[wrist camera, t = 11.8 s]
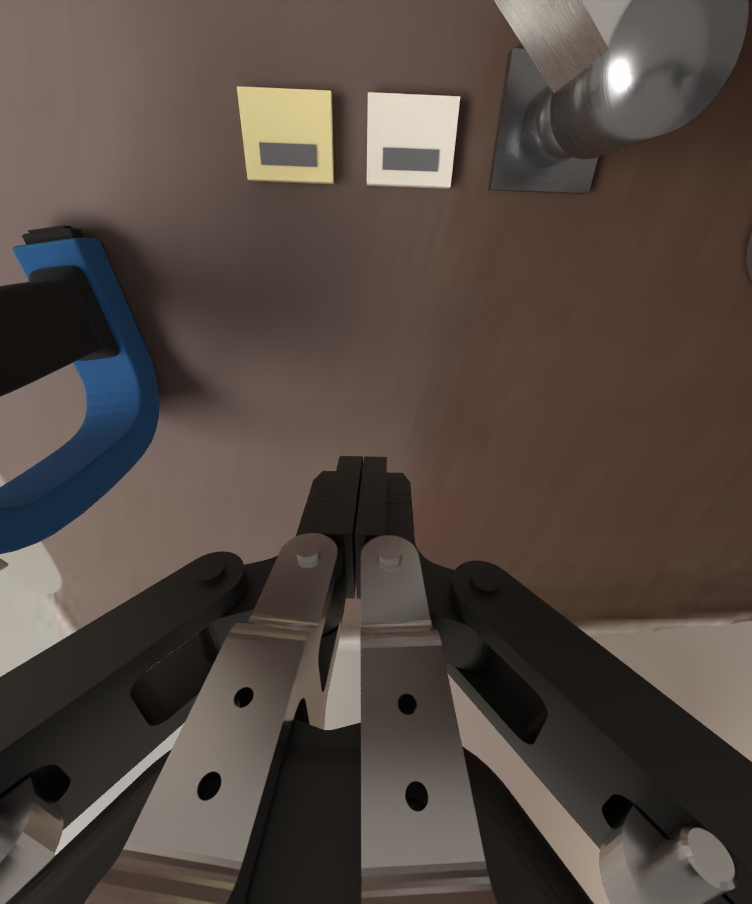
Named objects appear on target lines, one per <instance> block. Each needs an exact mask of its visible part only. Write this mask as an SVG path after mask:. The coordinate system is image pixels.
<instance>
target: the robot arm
mask: <svg viewBox="0 0 752 904" xmlns="http://www.w3.org/2000/svg"><path fill="white" fill-rule="evenodd" d="M747 269H748V272H749V276H750V279H751V281H752V232H751V235H750V238H749V243H748V248H747ZM386 469H387V457H364V463H363V457H361V456H340V457H339V461H338V466H337V470H336V471H322V472H321V473H320V474H319V475H318V476H317V477H316V478H315V479H314V480H313V483H312V486H311V489H310V494H309V496H308V499H307V503H306V505H305V509H304V512H303V515H302V518H301V521H300V524H299V528H298V531H297V534H296V537H294V538H292V539H291V540H289V541H288V542H287V543H286V544H285V545H284V546H283V547H282V549H281V551H280V553H279V555H278V556H276V557H273V558H271V559H268V560H264V561H260V562H255V563H251V564H246V565H244V564H243V562H242V560H241V558H240V557H239V556H237V555H236V554H233V553H230V552H214V553H210V554H206V555H204V556H201V557H200V558H198V559H196V560H194V561H192V562H191V563H189V564H187V565H186V566H184V567H183V568H181V569H179V570H178V571H176V572H174V573H173V574H171V575H169V576H168V577H166V578H164V579H163V580H161V581H159V582H158V583H156V584H154V585H153V586H151V587H149V588H148V589H146V590H144V591H143V592H141V593H139V594H138V595H136V596H134V597H133V598H131V599H129V600H128V601H126V602H124V603H123V604H121V605H119V606H118V607H116V608H114V609H113V610H111V611H109V612H108V613H106V614H104V615H103V616H101V617H99V618H98V619H96V620H94V621H93V622H91V623H89V624H88V625H86V626H84V627H83V628H81V629H79V630H78V631H76V632H74V633H73V634H71V635H69V636H68V637H66V638H64V639H63V640H61V641H59V642H58V643H56V644H55V645H53V646H51V647H50V648H48V649H46V650H45V651H43V652H41V653H40V654H38V655H36V656H35V657H33V658H31V659H30V660H28V661H26V662H25V663H23V664H22V665H20V666H18V667H16V668H15V669H13V670H11V671H10V672H8V673H6V674H5V675H3V676H2V677H0V904H594V903H593V902H592V900H591V899H590V898H589V896H588V895H587V894H586V892H585V891H584V890H583V889H582V887H581V886H580V885H579V883H578V882H577V880H576V879H575V878H574V876H573V875H572V874H571V872H570V871H569V870H568V868H567V867H566V866H565V864H564V863H563V862H562V860H561V859H560V858H559V856H558V855H557V854H556V853H555V851H554V850H553V848H552V847H551V846H550V844H549V843H548V842H547V840H546V839H545V838H544V836H543V835H542V834H541V832H540V831H539V830H538V828H537V827H536V826H535V824H534V823H533V822H532V820H531V819H530V818H529V816H528V815H527V814H526V812H525V811H524V810H523V808H522V807H521V806H520V804H519V803H518V802H517V800H516V799H515V798H514V796H513V795H512V794H511V792H510V791H509V790H508V788H507V787H506V786H505V785H504V783H503V782H502V781H501V780H500V779H499V778H498V777H497V775H496V774H495V773H494V772H493V771H492V770H491V769H490V768H489V767H488V766H487V765H486V764H485V763H484V762H482V761H481V760H480V759H479V758H478V757H477V756H475V755H474V754H472V753H471V752H470V751H468V750H467V749H465V748H464V747H462V743H461V738H460V733H459V728H458V723H457V718H456V713H455V708H454V703H453V698H452V693H451V688H450V684H449V678H448V674H449V675H450V676H451V678H452V679H453V680H454V681H455V682H456V683H457V685H458V686H459V687H460V688H461V689H462V690H463V691H464V692H465V694H466V695H467V696H468V697H469V698H470V700H471V701H472V702H473V703H474V704H475V705H476V706H477V707H478V709H479V710H480V711H481V712H482V713H483V715H484V716H485V717H486V718H487V719H488V720H489V721H490V723H491V724H492V725H493V726H494V727H495V728H496V730H497V731H498V732H499V733H500V734H501V735H502V736H503V738H504V739H505V740H506V741H507V742H508V743H509V745H510V746H511V747H512V748H513V749H514V750H515V752H516V753H517V754H518V755H519V756H520V757H521V758H522V760H523V761H524V762H525V763H526V764H527V765H528V767H529V768H530V769H531V770H532V771H533V772H534V774H535V775H536V776H537V777H538V778H539V779H540V780H541V782H542V783H543V784H544V785H545V786H546V787H547V789H548V790H549V791H550V792H551V793H552V794H553V795H554V797H555V798H556V799H557V800H558V801H559V802H560V804H561V805H562V806H563V807H564V808H565V809H566V810H567V812H568V813H569V814H570V815H571V816H572V817H573V818H574V820H575V821H576V822H577V823H578V824H579V826H581V828H582V829H583V830H584V831H585V832H586V833H587V835H588V836H589V837H590V838H591V839H592V841H593V842H594V843H595V844H596V845H597V846H598V847H599V849H600V853H599V865H600V874H601V878H602V883H603V886H604V889H605V892H606V895H607V897H608V900H609V902H610V904H752V762H751V761H750V760H748V759H747V758H746V757H744V756H743V755H742V754H741V753H739V752H738V751H737V750H735V749H734V748H733V747H732V746H730V745H729V744H728V743H726V742H725V741H724V740H722V739H721V738H720V737H719V736H717V735H716V734H714V733H713V732H712V731H711V730H710V729H708V728H707V727H706V726H704V725H703V724H702V723H701V722H699V721H698V720H696V719H695V718H694V717H693V716H692V715H690V714H689V713H687V712H686V711H685V710H684V709H682V708H681V707H680V706H679V705H677V704H676V703H675V702H673V701H672V700H671V699H670V698H668V697H667V696H666V695H664V694H663V693H662V692H661V691H659V690H658V689H657V688H655V687H654V686H653V685H651V684H650V683H649V682H648V681H646V680H645V679H644V678H642V677H641V676H640V675H638V674H637V673H636V672H635V671H633V670H632V669H631V668H630V667H628V666H627V665H626V664H624V663H623V662H622V661H620V660H619V659H618V658H617V657H615V656H614V655H613V654H611V653H610V652H609V651H608V650H606V649H605V648H604V647H602V646H601V645H600V644H598V643H597V642H596V641H595V640H593V639H592V638H591V637H589V636H588V635H587V634H586V633H584V632H583V631H582V630H580V629H579V628H578V627H577V626H575V625H574V624H573V623H571V622H570V621H569V620H568V619H566V618H565V617H564V616H562V615H561V614H560V613H558V612H557V611H556V610H555V609H553V608H552V607H551V606H549V605H548V604H547V603H546V602H544V601H543V600H542V599H540V598H539V597H538V596H537V595H535V594H534V593H533V592H531V591H530V590H529V589H527V588H526V587H525V586H524V585H522V584H521V583H520V582H518V581H517V580H516V579H515V578H513V577H512V576H511V575H509V574H508V573H507V572H506V571H504V570H503V569H501V568H500V567H498V566H496V565H494V564H491V563H489V562H485V561H469V562H465V563H463V564H461V565H460V566H458V567H457V568H456V570H452V569H449V568H446V567H442V566H439V565H437V564H434V563H432V562H430V561H429V560H427V559H426V558H425V557H424V556H423V555H422V554H421V553H420V552H419V551H418V549H417V547H416V544H415V537H414V524H413V511H412V498H411V485H410V482H409V480H408V479H407V478H406V476H405V475H404V474H403V473H386ZM355 587H356V588H357V598H358V599H361V723H358V724H354V725H350V726H346V727H342V728H338V729H334V730H324V725H325V711H326V701H327V696H328V690H329V686H330V681H331V677H332V672H333V667H334V662H335V657H336V652H337V648H338V643H339V638H340V633H341V628H342V617H343V613H344V606H345V598H353V599H354V597H355ZM193 636H194V637H193ZM189 639H190V640H189ZM182 644H183V645H182ZM178 647H179V648H178ZM174 650H175V651H174ZM170 653H171V654H170ZM166 656H167V657H166ZM162 659H163V660H162ZM158 662H159V663H158ZM155 664H156V665H155ZM151 667H152V668H151ZM147 670H148V671H147ZM184 722H185V723H184ZM183 723H184V725H183V728H182V730H181V732H180V734H179V736H178V738H177V740H176V742H175V744H174V746H173V748H172V749H171V750H170V751H168V752H167V753H166V754H164V755H163V756H162V757H161V758H159V759H158V760H157V761H156V762H154V763H153V764H152V765H151V766H150V767H149V768H148V769H146V771H144V772H143V773H142V774H141V775H140V776H139V777H138V778H137V779H136V780H135V781H134V782H133V783H132V784H131V785H129V786H128V788H126V790H124V791H123V792H122V793H121V794H120V795H119V796H118V797H117V798H116V799H115V800H114V801H113V802H112V803H111V804H109V805H108V806H107V807H106V808H105V809H104V810H103V811H102V812H101V813H100V814H99V815H98V816H97V817H96V818H95V819H94V820H93V821H92V822H91V823H89V824H88V826H87V827H85V828H84V829H83V830H82V831H81V832H80V833H79V834H78V835H77V836H76V837H75V838H74V839H73V840H72V841H71V842H69V843H68V844H67V845H66V846H65V847H64V848H63V849H62V850H61V851H60V852H59V853H58V854H57V855H56V856H55V851H56V849H57V846H58V844H59V841H60V838H61V835H62V830H64V829H65V828H66V827H67V826H68V825H69V824H70V823H71V822H73V821H74V820H75V819H76V818H77V817H78V816H79V815H80V814H82V813H83V812H84V811H85V810H86V809H87V808H88V807H90V806H91V805H92V804H93V803H94V802H95V801H96V800H97V799H99V798H100V797H101V796H102V795H103V794H104V793H105V792H106V791H107V790H109V789H110V788H111V787H112V786H113V785H114V784H115V783H117V782H118V781H119V780H120V779H121V778H122V777H123V776H125V775H126V774H127V773H128V772H129V771H130V770H131V769H132V768H134V767H135V766H136V765H137V764H138V763H139V762H140V761H142V760H143V759H144V758H145V757H146V756H147V755H148V754H149V753H150V752H152V751H153V750H154V749H155V748H156V747H157V746H158V745H159V744H161V743H162V742H163V741H164V740H165V739H166V738H167V737H169V736H170V735H171V734H172V733H173V732H174V731H175V730H176V729H177V728H179V727H180V726H181V725H182V724H183Z"/></svg>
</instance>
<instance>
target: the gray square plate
mask: <svg viewBox="0 0 752 904" xmlns="http://www.w3.org/2000/svg"><path fill="white" fill-rule="evenodd" d="M551 96H552V90H551V89H550V87H549V86H548V84H547V82H546V81H545V79H544V78H543V76H542V75H541V73H540V71H539V70H538V68H537V67H536V65H535V64H534V62H533V61H532V59H531V57H530V56H529V54H528V53H527V51H526V50H525V49H521V48H512V50H511V51H510V52H509V56H508V62H507V69H506V76H505V82H504V89H503V96H502V102H501V109H500V116H499V122H498V129H497V136H496V142H495V149H494V156H493V162H492V169H491V176H490V182H489V189H488V190H497V191H523V192H549V193H576V194H586V193H589V191H590V187H591V183H592V179H593V176H594V172H595V168H596V164H597V160H598V158H594V159H578V158H575V157H572V156H570V155H569V154H567V153H566V152H565V151H563V150H562V149H561V147H560V146H559V145H558V143H557V141H556V140H555V137H554V135H553V132H552V128H551V122H550V102H551Z"/></svg>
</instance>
